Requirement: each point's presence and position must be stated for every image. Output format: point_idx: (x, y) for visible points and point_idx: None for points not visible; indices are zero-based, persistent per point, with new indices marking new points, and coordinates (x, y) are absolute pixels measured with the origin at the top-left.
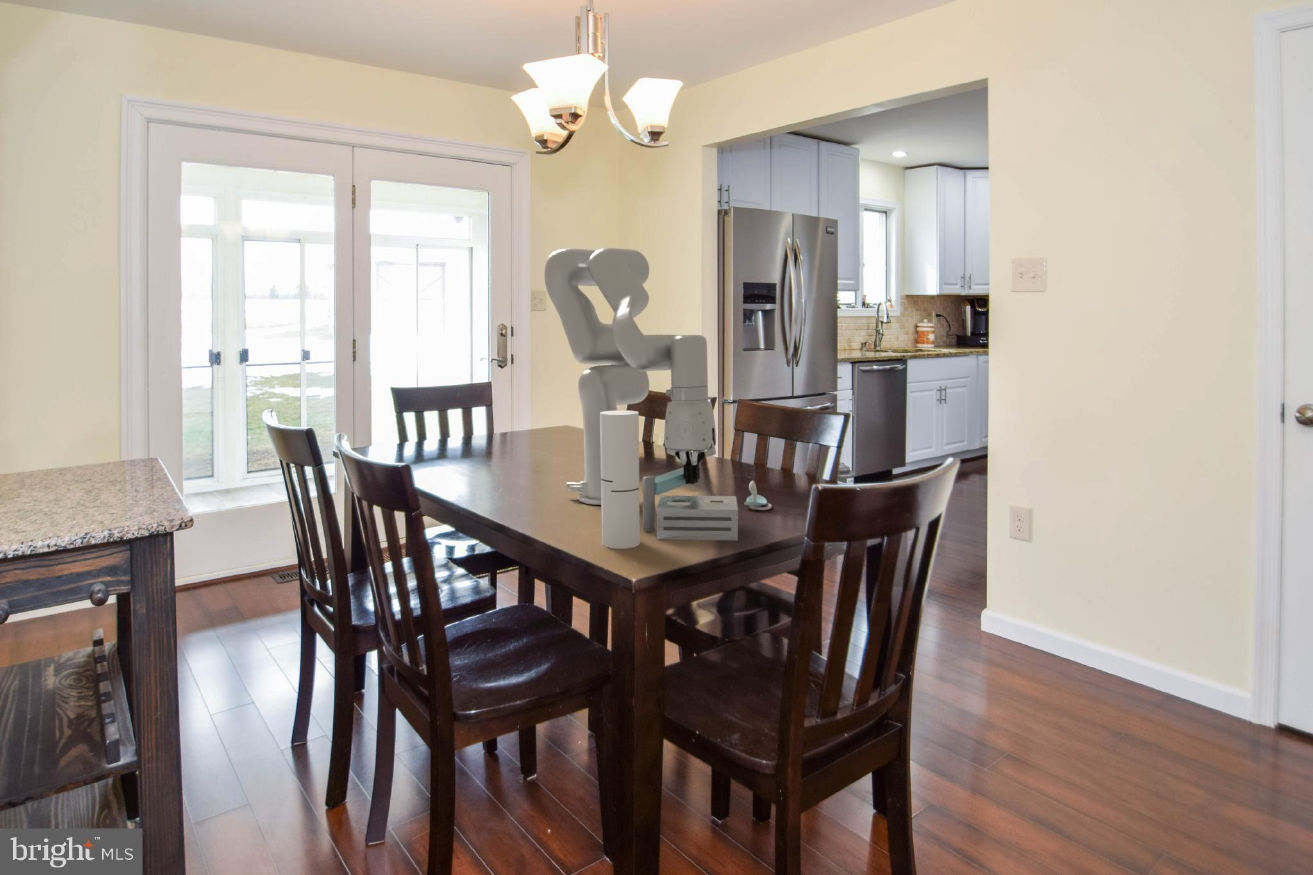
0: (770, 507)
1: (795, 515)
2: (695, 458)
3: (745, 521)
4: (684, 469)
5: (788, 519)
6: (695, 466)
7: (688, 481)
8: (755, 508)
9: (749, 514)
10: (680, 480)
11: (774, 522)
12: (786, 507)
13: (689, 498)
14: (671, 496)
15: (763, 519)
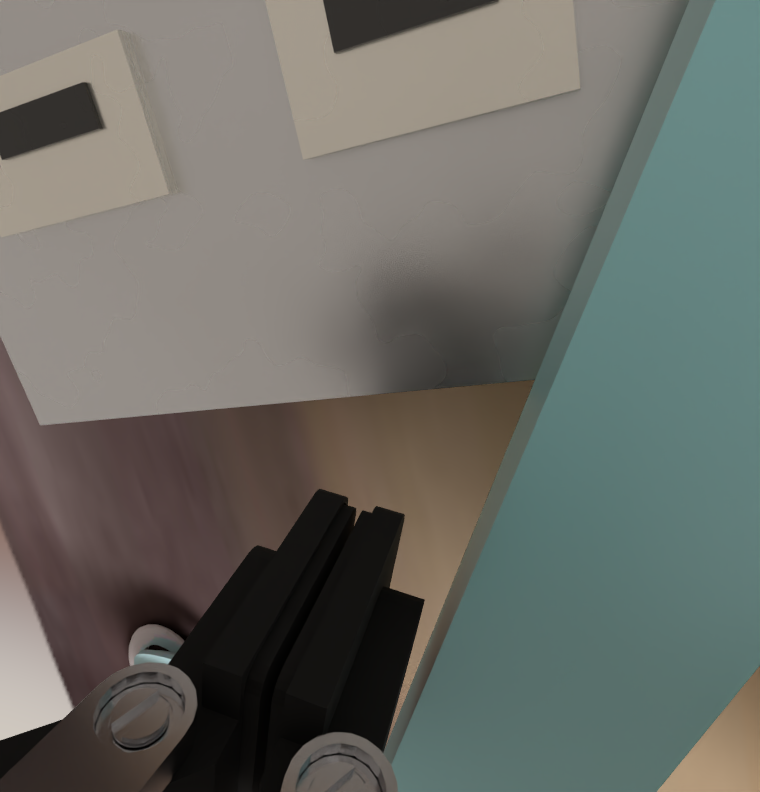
0: (129, 652)
1: (15, 552)
2: (57, 771)
3: (158, 430)
4: (382, 689)
5: (11, 486)
6: (182, 671)
7: (360, 520)
8: (181, 641)
9: (185, 563)
10: (467, 563)
11: (38, 427)
12: (92, 672)
13: (350, 270)
14: None
15: (98, 477)
